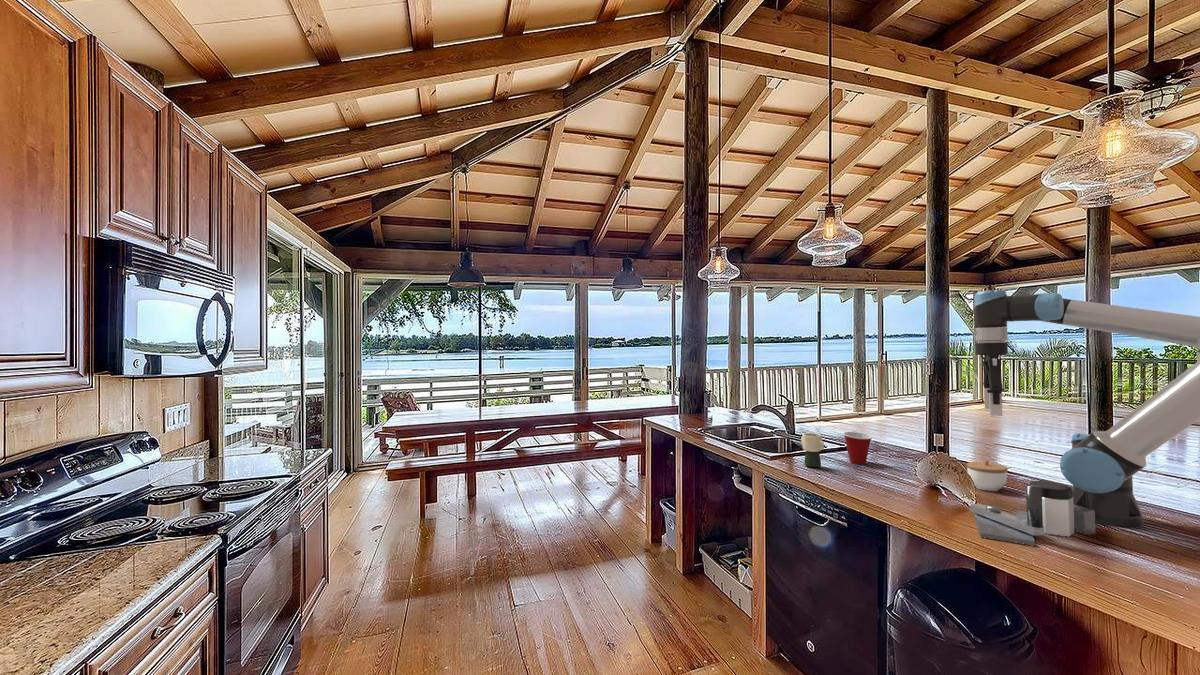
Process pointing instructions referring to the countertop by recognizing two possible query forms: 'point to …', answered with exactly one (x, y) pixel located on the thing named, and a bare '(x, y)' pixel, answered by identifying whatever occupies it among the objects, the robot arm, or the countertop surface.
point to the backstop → (1084, 520)
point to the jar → (1057, 508)
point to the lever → (1018, 512)
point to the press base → (1001, 530)
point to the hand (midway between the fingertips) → (993, 412)
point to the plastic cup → (857, 446)
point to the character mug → (812, 448)
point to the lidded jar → (987, 475)
